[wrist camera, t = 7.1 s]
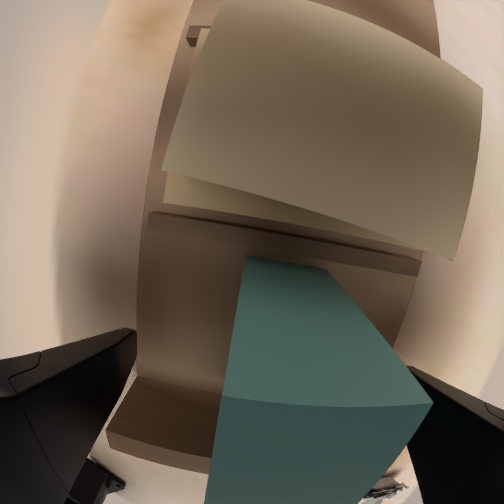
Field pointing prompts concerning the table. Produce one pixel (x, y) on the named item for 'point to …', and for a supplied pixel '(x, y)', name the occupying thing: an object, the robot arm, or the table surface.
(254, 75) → the offcut top
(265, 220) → the rack
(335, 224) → the offcut low
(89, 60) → the table surface
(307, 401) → the teal rectangular block
